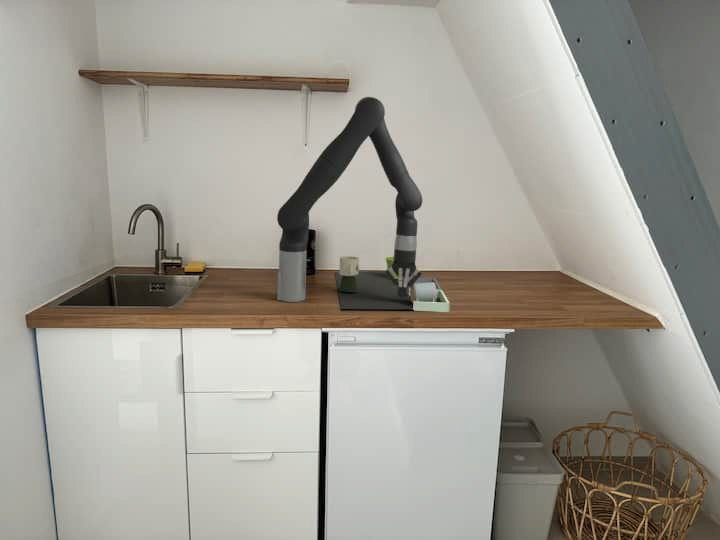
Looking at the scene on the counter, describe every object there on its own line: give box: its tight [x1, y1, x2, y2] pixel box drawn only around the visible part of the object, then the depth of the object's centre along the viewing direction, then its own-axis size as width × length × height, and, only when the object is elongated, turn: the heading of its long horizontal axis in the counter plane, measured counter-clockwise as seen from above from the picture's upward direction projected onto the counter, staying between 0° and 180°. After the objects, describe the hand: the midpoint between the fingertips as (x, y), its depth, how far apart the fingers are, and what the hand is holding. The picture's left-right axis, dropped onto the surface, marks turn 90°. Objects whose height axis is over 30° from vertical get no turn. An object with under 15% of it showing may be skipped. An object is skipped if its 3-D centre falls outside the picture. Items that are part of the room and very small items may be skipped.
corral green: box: [408, 287, 451, 313], centre depth 184 cm, size 12×20×3 cm, turn 179°
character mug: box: [338, 255, 360, 294], centre depth 195 cm, size 11×7×13 cm, turn 10°
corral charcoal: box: [407, 276, 443, 295], centre depth 204 cm, size 12×20×3 cm, turn 179°
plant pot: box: [384, 256, 404, 280], centre depth 223 cm, size 9×9×9 cm
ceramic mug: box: [409, 282, 437, 304], centre depth 182 cm, size 11×8×8 cm
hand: (401, 297), depth 184 cm, fingers closed
